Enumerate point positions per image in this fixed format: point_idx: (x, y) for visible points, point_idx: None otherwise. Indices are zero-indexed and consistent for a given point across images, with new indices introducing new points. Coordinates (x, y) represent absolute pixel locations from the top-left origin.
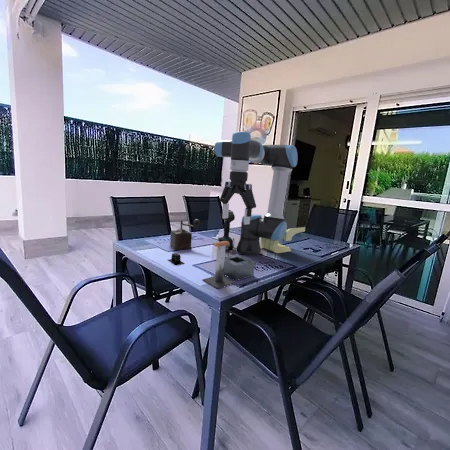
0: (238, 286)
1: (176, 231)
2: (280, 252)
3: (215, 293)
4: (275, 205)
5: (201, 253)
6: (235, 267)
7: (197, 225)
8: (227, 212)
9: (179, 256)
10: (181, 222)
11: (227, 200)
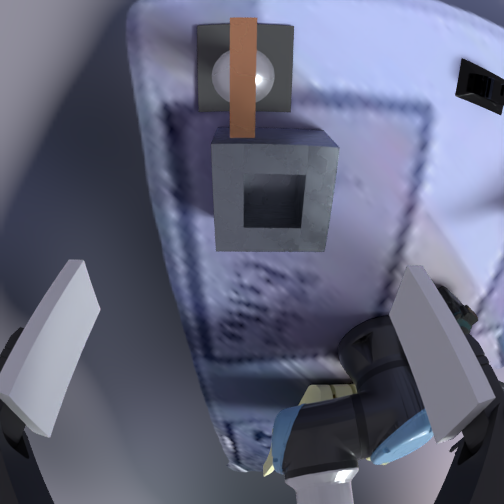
0: (173, 106)
1: None
2: (305, 392)
3: (173, 3)
4: None
5: (476, 218)
6: (217, 141)
7: None
8: (412, 350)
9: (487, 95)
10: None
11: (461, 473)
